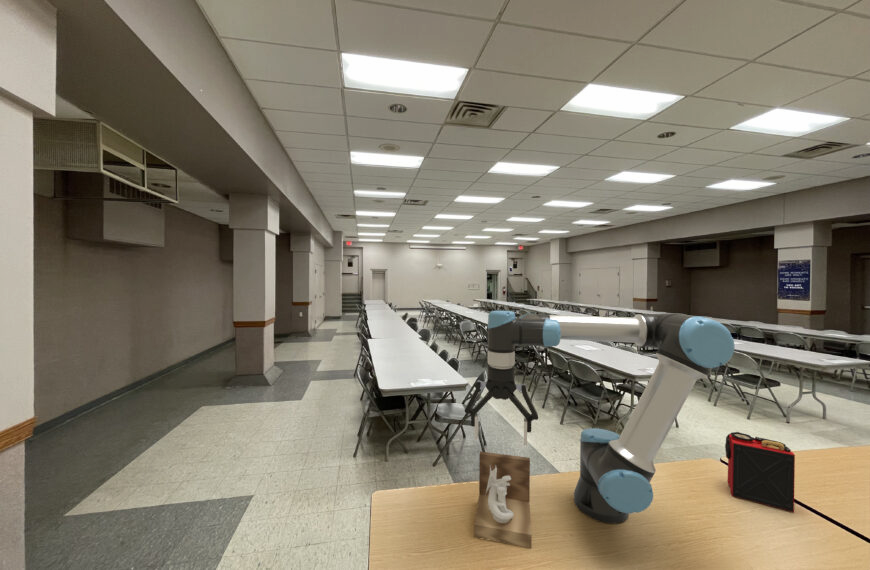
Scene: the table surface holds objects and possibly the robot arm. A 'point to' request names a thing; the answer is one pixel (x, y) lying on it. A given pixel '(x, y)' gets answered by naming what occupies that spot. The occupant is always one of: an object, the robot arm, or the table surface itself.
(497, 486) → the figurine
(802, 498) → the table surface
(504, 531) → the wall shelf
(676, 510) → the table surface
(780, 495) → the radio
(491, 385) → the robot arm
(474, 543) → the table surface
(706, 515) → the table surface
